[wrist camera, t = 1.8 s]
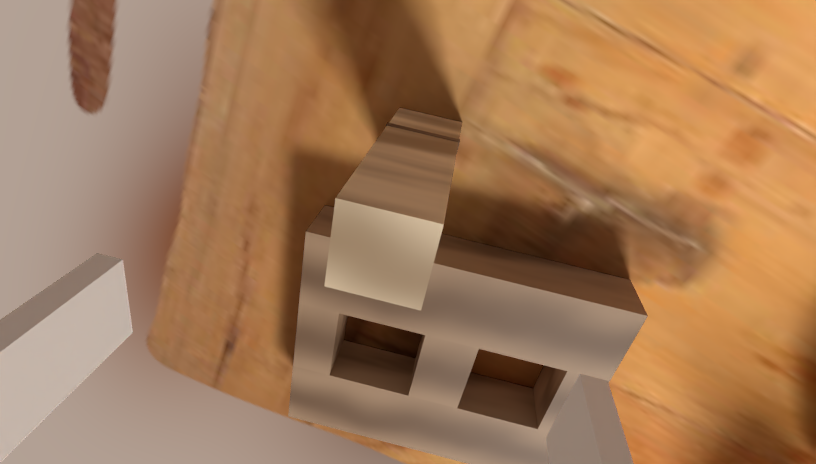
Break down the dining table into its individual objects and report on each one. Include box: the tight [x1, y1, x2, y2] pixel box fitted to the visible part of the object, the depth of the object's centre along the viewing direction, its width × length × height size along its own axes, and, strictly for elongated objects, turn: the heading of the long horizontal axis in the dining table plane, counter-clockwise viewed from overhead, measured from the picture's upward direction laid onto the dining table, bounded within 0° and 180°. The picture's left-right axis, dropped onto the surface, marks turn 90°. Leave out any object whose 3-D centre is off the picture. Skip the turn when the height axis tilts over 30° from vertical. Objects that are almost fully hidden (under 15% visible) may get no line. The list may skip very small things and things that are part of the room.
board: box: [288, 205, 648, 464], centre depth 35 cm, size 18×22×4 cm
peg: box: [324, 108, 462, 311], centre depth 24 cm, size 4×4×14 cm
